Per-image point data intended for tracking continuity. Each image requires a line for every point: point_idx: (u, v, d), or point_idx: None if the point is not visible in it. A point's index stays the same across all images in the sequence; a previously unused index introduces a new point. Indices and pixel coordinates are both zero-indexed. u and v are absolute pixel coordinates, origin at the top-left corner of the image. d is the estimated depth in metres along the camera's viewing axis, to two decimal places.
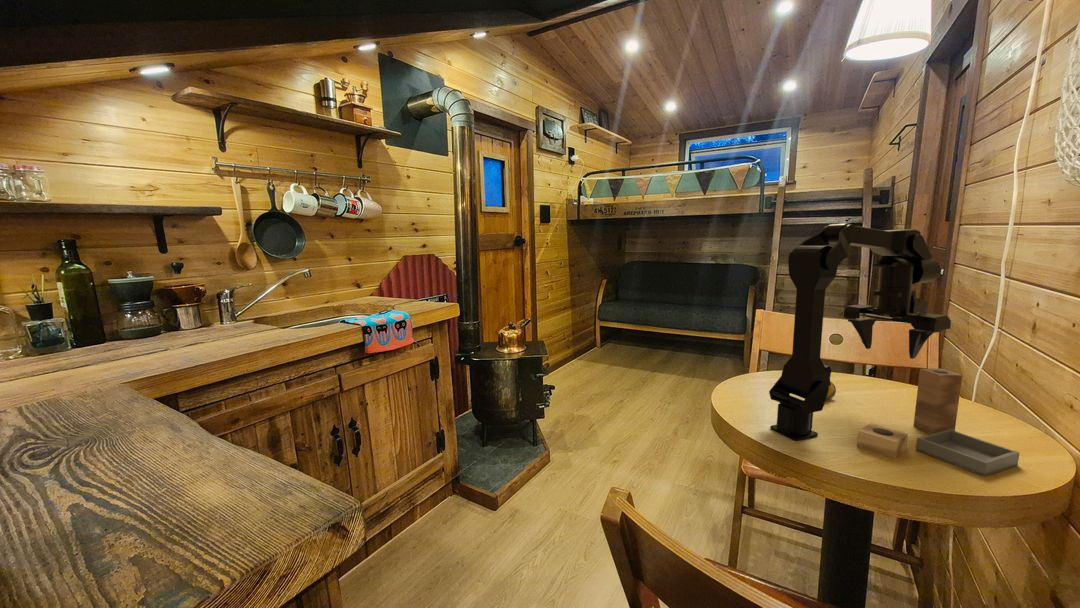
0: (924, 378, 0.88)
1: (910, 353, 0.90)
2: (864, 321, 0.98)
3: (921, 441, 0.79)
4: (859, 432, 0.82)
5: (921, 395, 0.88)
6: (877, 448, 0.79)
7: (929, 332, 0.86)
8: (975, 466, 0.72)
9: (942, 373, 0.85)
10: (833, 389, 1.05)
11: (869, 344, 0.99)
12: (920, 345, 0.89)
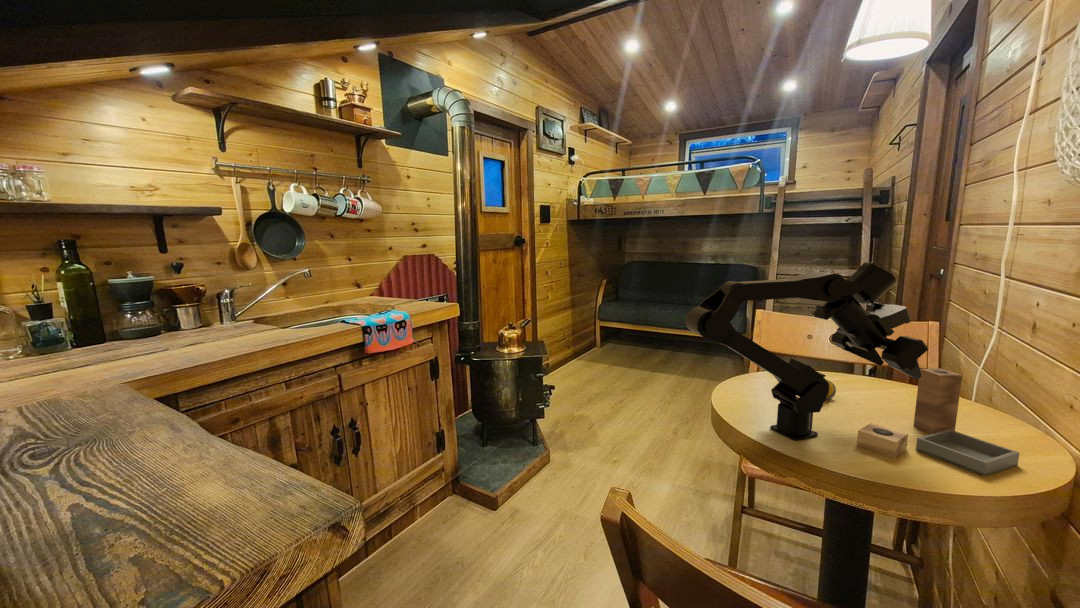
0: (924, 378, 0.88)
1: (911, 376, 0.82)
2: None
3: (921, 441, 0.79)
4: (859, 432, 0.82)
5: (921, 395, 0.88)
6: (877, 448, 0.80)
7: None
8: (975, 466, 0.72)
9: (942, 373, 0.85)
10: (833, 389, 1.05)
11: (879, 361, 0.91)
12: (915, 367, 0.81)
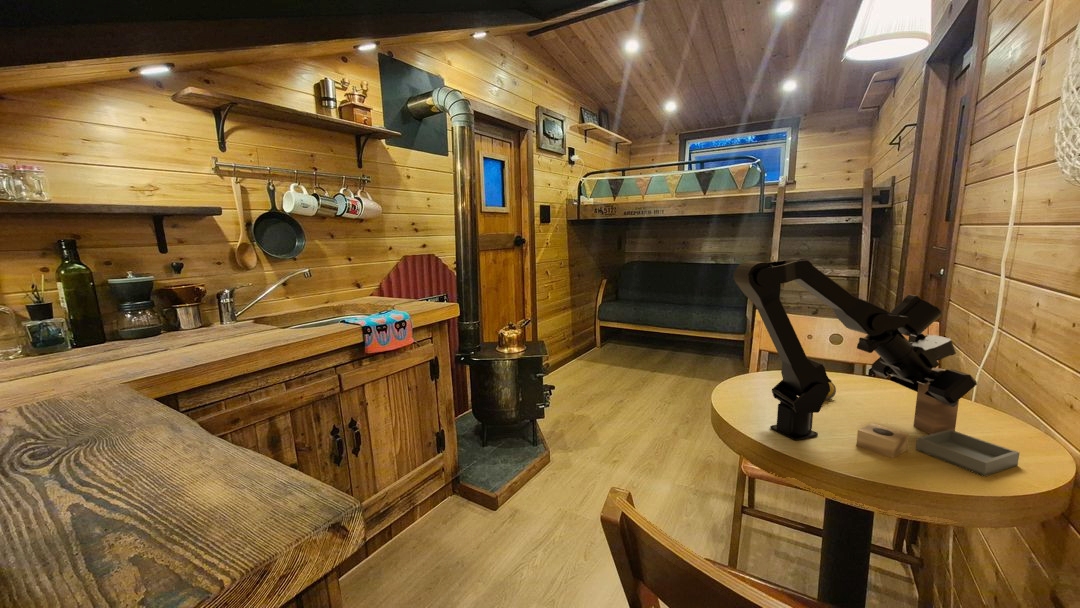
0: None
1: None
2: None
3: (921, 441, 0.79)
4: (858, 431, 0.82)
5: (921, 395, 0.88)
6: (876, 448, 0.80)
7: None
8: (975, 466, 0.72)
9: None
10: (833, 389, 1.05)
11: None
12: None
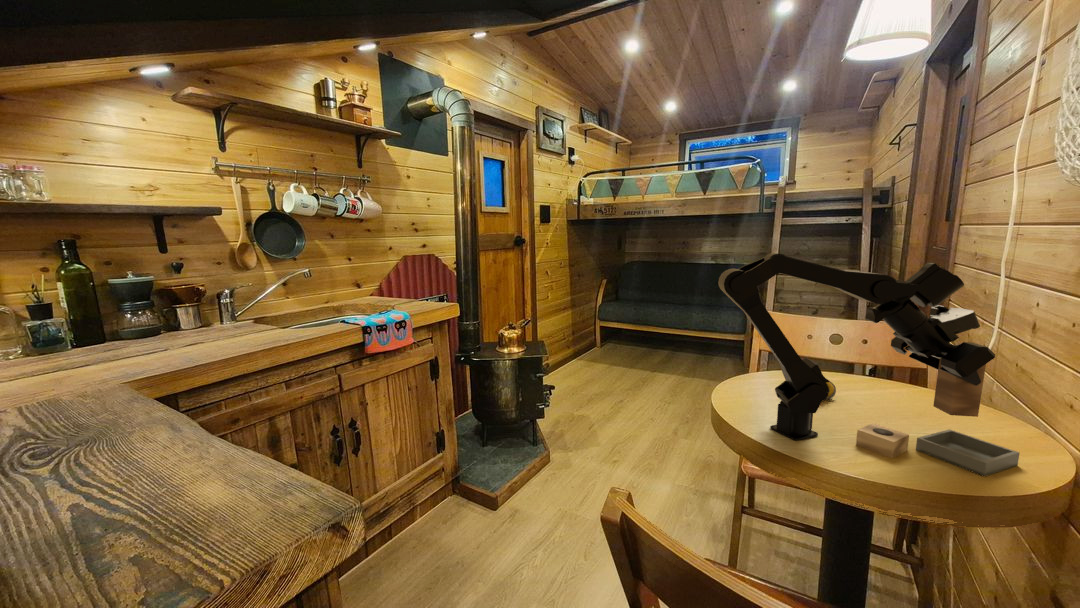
0: None
1: (969, 382, 0.78)
2: None
3: (921, 441, 0.79)
4: (858, 431, 0.82)
5: (942, 373, 0.82)
6: (875, 447, 0.80)
7: None
8: (975, 466, 0.72)
9: None
10: (833, 389, 1.05)
11: None
12: (972, 373, 0.77)
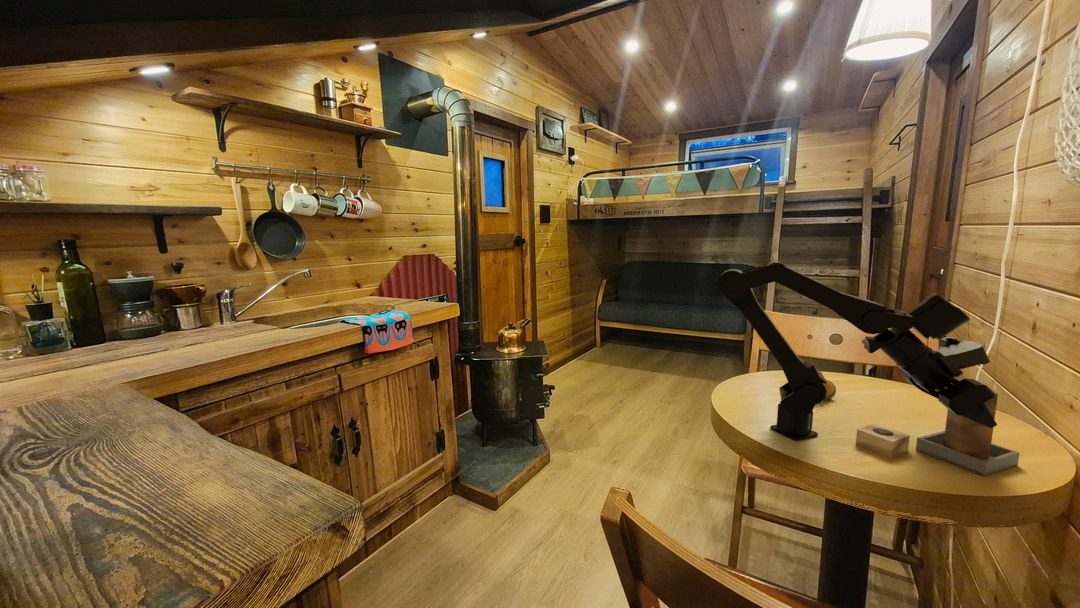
0: None
1: (982, 424, 0.72)
2: None
3: (921, 441, 0.79)
4: (858, 431, 0.82)
5: (950, 413, 0.78)
6: (874, 447, 0.80)
7: None
8: (975, 466, 0.72)
9: None
10: (833, 389, 1.05)
11: None
12: (983, 414, 0.71)
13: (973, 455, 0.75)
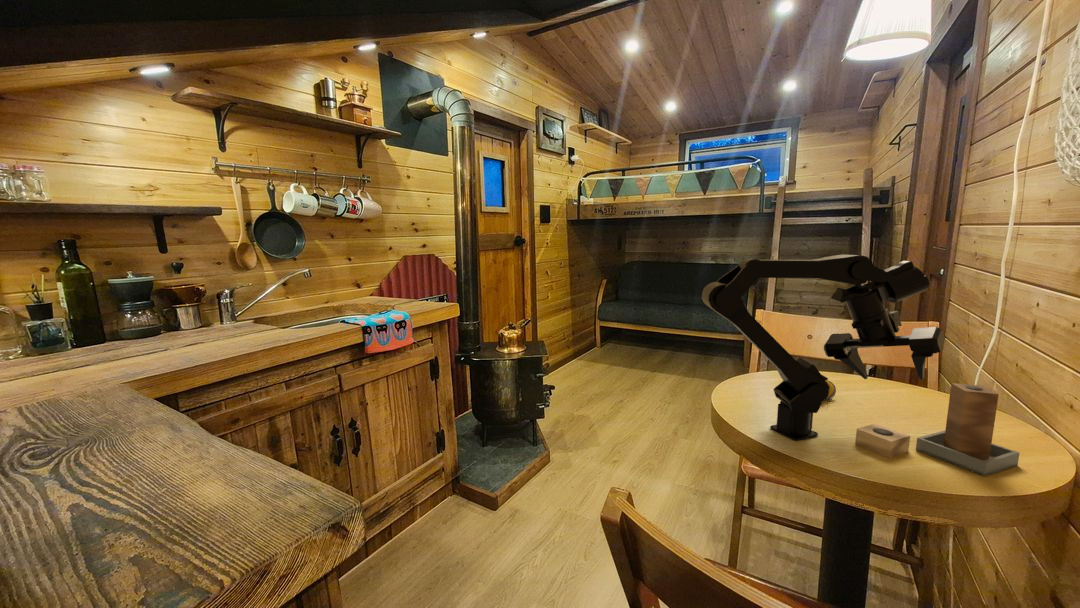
0: (953, 393, 0.77)
1: (919, 375, 0.81)
2: (851, 354, 0.88)
3: (921, 441, 0.79)
4: (857, 430, 0.82)
5: (950, 413, 0.78)
6: (873, 447, 0.80)
7: None
8: (975, 466, 0.72)
9: (973, 389, 0.74)
10: (833, 389, 1.05)
11: (865, 373, 0.89)
12: (924, 363, 0.80)
13: (973, 455, 0.75)
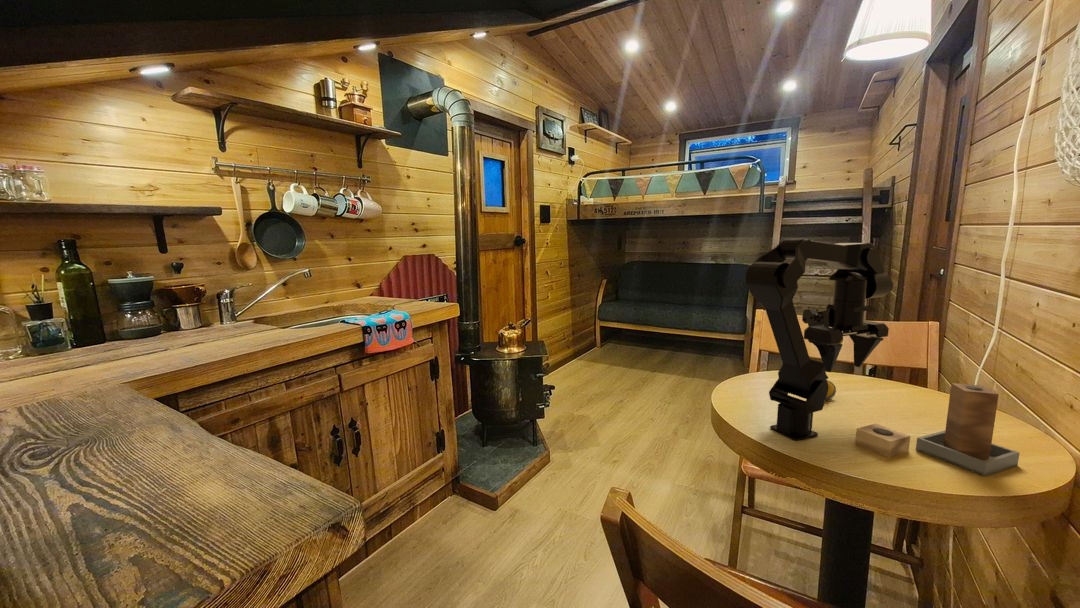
0: (953, 393, 0.77)
1: (862, 362, 0.93)
2: None
3: (921, 441, 0.79)
4: (857, 430, 0.83)
5: (950, 413, 0.78)
6: (873, 447, 0.80)
7: None
8: (975, 466, 0.72)
9: (973, 389, 0.74)
10: (833, 389, 1.05)
11: None
12: None
13: (973, 455, 0.75)
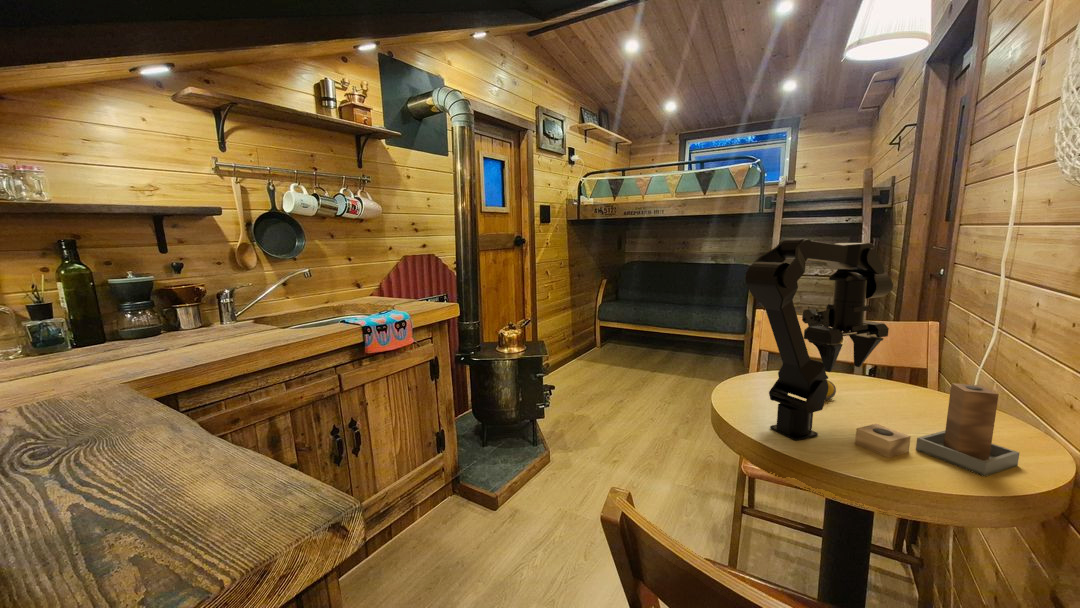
0: (953, 393, 0.77)
1: (862, 362, 0.93)
2: None
3: (921, 441, 0.79)
4: (857, 430, 0.83)
5: (950, 413, 0.78)
6: (872, 446, 0.80)
7: None
8: (975, 466, 0.72)
9: (973, 389, 0.74)
10: (833, 389, 1.05)
11: None
12: None
13: (973, 455, 0.75)
